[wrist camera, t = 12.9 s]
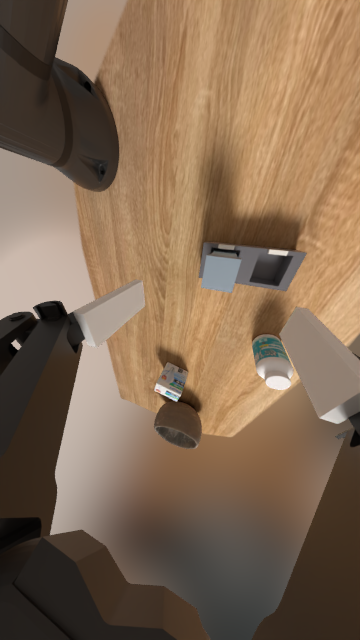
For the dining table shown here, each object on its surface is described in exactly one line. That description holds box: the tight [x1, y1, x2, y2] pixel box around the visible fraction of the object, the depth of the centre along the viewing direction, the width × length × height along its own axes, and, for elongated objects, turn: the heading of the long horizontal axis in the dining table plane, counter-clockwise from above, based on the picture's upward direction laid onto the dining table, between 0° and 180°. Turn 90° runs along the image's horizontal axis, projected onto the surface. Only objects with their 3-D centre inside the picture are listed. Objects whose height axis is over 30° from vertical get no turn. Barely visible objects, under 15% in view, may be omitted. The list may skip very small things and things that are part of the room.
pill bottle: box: [252, 334, 293, 390], centre depth 35 cm, size 8×7×14 cm
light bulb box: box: [154, 362, 188, 402], centre depth 57 cm, size 11×7×11 cm, turn 73°
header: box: [199, 241, 307, 291], centre depth 29 cm, size 7×18×6 cm, turn 86°
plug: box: [201, 249, 242, 293], centre depth 26 cm, size 5×5×13 cm
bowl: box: [154, 401, 202, 449], centre depth 71 cm, size 24×24×15 cm
